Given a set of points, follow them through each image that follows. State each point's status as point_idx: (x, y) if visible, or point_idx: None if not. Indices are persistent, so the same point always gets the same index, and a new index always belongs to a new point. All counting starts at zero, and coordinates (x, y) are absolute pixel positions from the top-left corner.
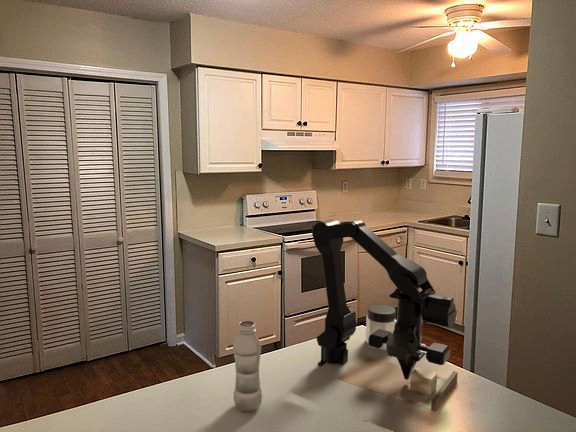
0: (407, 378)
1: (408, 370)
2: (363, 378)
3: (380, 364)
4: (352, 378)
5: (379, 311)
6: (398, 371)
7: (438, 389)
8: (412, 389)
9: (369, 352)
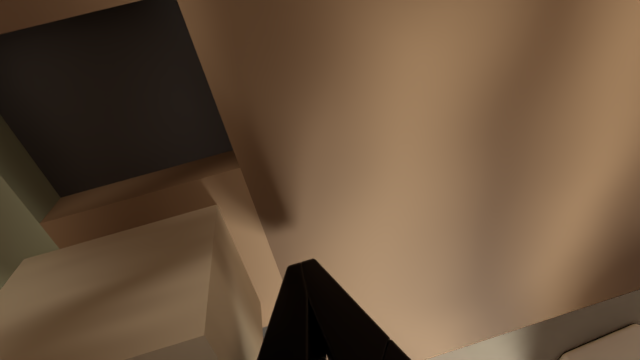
0: (287, 274)
1: (279, 353)
2: (623, 23)
3: (559, 278)
4: None
5: None
6: (430, 304)
7: None
8: (194, 212)
9: (630, 319)
